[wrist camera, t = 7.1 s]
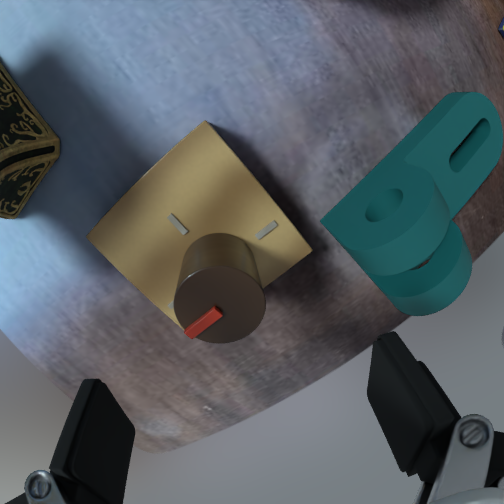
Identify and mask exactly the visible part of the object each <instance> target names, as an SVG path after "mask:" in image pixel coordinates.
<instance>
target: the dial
mask: <svg viewBox="0 0 504 504" xmlns="http://www.w3.org/2000/svg"><path fill="white" fill-rule="evenodd" d="M173 307H174V312H175V316H176V318H177V320H178V322H179V323H180V325H181V326H182V327H183V329H184V333H185V334H186V335H187V336H188V337H190V338H191V339H193V338H197V339H200V340H202V341H205V342H210V343H230V342H234V341H237V340H240V339H242V338H244V337H246V336H248V335H249V334H250V333H252V332H253V331H254V330H255V329H256V328H257V327H258V325H259V324H260V323H261V321H262V319H263V316H264V314H265V309H266V300H265V295H264V291H263V288H262V284H261V280H260V277H259V273H258V269H257V265H256V262H255V258H254V255H253V253H252V251H251V249H250V248H249V246H248V245H247V244H246V243H245V242H244V241H242V240H241V239H239V238H238V237H236V236H233V235H230V234H226V233H212V234H208V235H205V236H202V237H200V238H199V239H197V240H196V241H194V242H193V243H192V244H191V245H190V246H189V248H188V249H187V251H186V253H185V255H184V258H183V262H182V266H181V270H180V274H179V278H178V283H177V287H176V291H175V295H174V302H173Z"/></svg>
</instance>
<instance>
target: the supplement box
mask: <svg viewBox="0 0 504 504" xmlns="http://www.w3.org/2000/svg"><path fill="white" fill-rule="evenodd" d="M498 30H499V32H500V33H501V34H502V36H503V38H504V18H503V20H502V22H501V24H500V26H499V28H498Z"/></svg>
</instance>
